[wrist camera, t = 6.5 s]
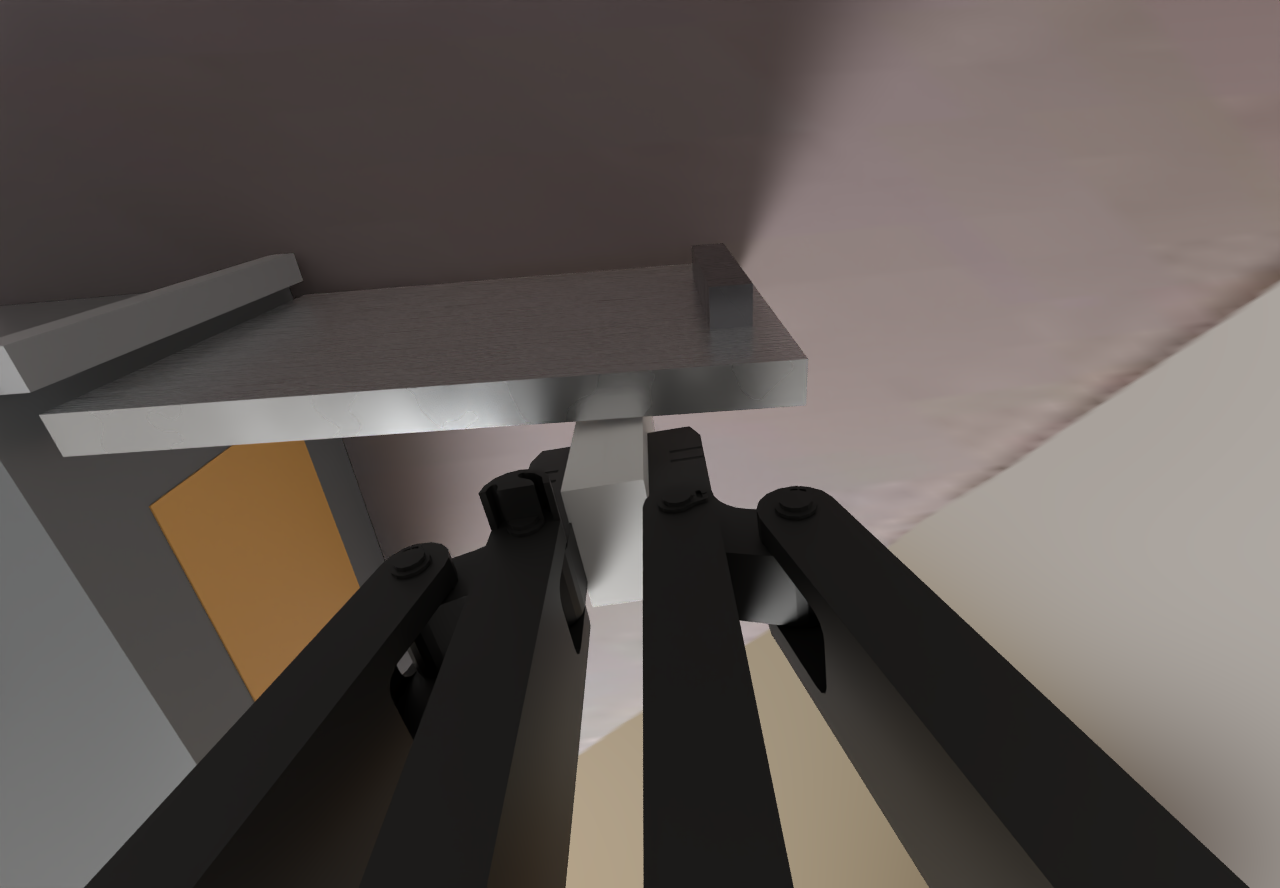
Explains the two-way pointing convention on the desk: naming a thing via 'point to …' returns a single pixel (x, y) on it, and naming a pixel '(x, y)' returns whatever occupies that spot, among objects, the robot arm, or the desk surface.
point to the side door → (457, 361)
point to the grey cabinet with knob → (146, 574)
